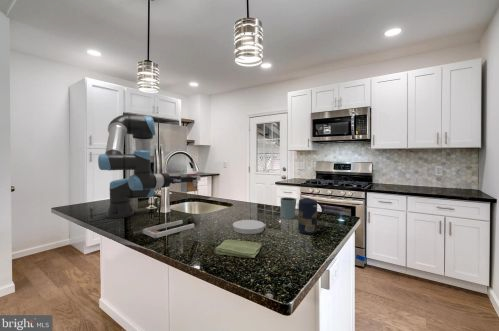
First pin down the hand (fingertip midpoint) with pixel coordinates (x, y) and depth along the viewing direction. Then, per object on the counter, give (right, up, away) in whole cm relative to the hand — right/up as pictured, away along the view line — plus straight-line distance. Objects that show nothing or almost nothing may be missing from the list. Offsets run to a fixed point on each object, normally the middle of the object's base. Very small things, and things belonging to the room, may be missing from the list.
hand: (196, 177), depth 145 cm
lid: (+32, -27, -13) cm, 44 cm away
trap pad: (-16, -27, -23) cm, 39 cm away
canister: (+62, -28, -19) cm, 70 cm away
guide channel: (-11, -27, -17) cm, 33 cm away
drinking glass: (+56, -26, +11) cm, 63 cm away
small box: (-3, -8, -4) cm, 9 cm away
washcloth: (+27, -29, -44) cm, 59 cm away
